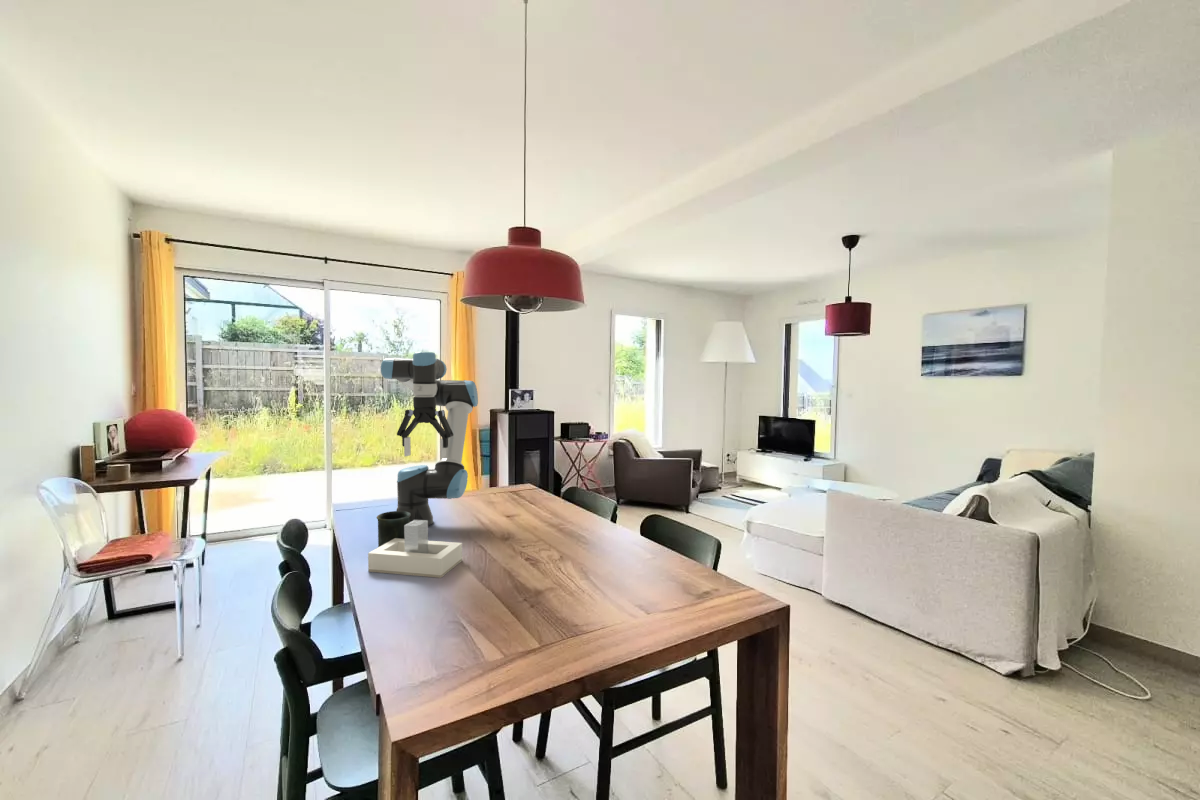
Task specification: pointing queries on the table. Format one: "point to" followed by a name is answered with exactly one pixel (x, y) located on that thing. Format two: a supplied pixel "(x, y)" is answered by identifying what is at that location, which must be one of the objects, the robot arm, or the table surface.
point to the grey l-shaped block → (416, 536)
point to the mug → (391, 526)
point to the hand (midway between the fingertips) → (425, 456)
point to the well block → (415, 559)
